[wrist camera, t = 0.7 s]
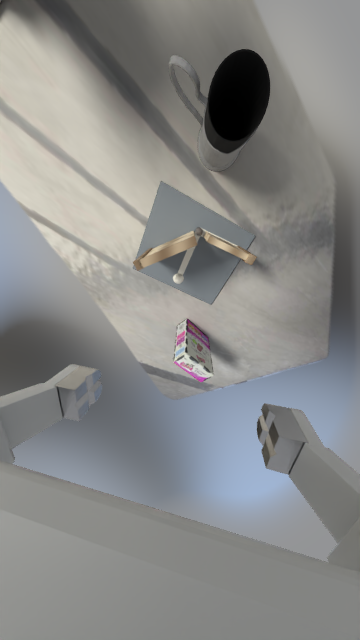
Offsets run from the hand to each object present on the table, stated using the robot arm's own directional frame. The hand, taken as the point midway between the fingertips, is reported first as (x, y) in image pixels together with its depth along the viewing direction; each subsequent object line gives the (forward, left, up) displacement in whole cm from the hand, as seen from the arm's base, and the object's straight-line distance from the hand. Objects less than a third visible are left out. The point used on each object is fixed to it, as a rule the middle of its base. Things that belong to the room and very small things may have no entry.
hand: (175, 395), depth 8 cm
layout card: (+1, -1, -42) cm, 42 cm away
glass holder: (-5, +20, -43) cm, 48 cm away
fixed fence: (+6, +5, -42) cm, 43 cm away
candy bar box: (+14, -23, -43) cm, 50 cm away
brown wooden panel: (-4, -1, -42) cm, 42 cm away
